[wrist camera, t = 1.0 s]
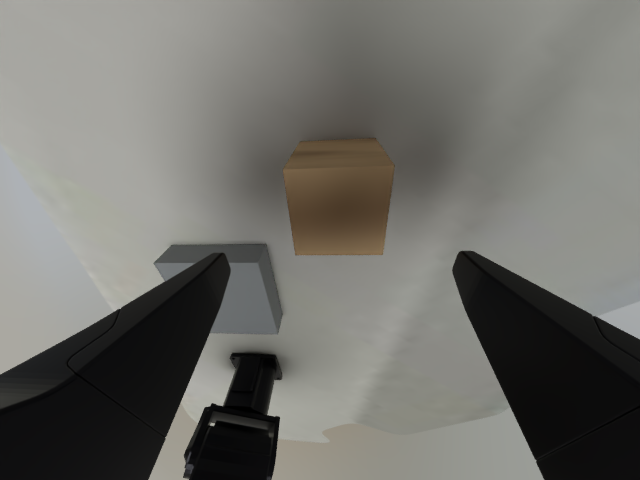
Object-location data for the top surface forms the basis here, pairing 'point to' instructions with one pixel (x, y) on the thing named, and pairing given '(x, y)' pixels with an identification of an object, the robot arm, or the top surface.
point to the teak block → (339, 196)
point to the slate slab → (235, 285)
